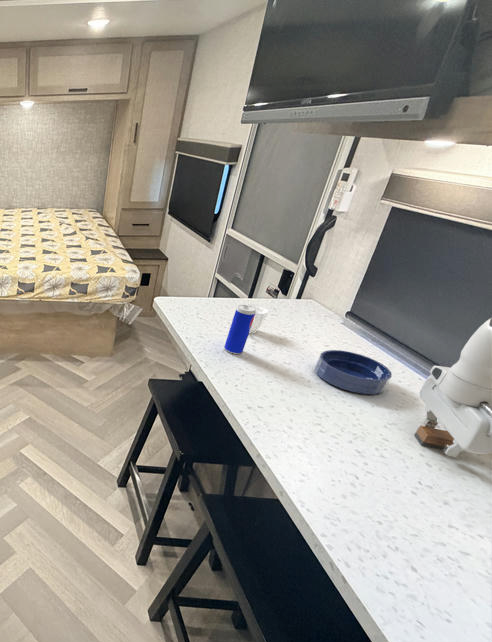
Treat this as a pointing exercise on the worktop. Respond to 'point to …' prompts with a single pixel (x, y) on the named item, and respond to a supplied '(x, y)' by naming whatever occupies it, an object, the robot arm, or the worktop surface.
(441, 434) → the eraser
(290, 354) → the worktop surface
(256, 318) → the cup
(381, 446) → the worktop surface
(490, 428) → the robot arm
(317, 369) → the bowl
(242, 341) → the beverage can
